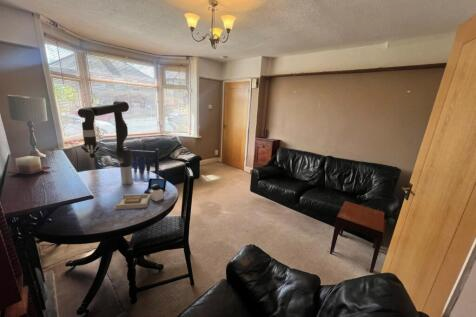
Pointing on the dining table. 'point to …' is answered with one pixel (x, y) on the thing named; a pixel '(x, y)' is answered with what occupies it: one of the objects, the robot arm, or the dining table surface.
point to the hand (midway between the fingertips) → (92, 157)
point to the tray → (142, 204)
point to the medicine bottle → (156, 193)
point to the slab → (133, 200)
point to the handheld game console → (156, 181)
